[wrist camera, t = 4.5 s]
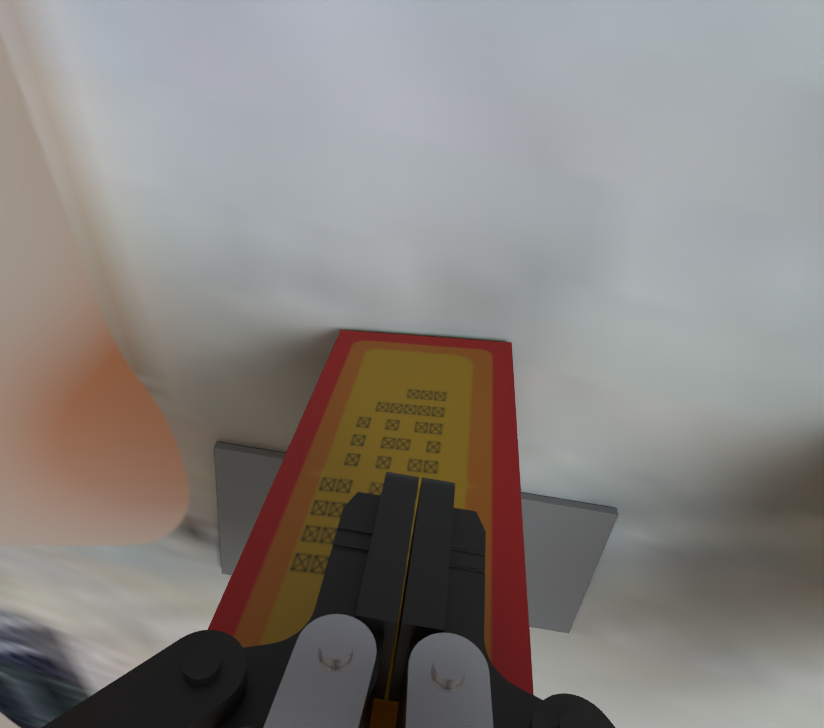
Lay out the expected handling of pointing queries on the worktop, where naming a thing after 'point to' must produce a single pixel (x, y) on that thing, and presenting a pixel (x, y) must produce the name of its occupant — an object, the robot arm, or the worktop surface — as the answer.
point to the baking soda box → (365, 472)
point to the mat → (542, 528)
